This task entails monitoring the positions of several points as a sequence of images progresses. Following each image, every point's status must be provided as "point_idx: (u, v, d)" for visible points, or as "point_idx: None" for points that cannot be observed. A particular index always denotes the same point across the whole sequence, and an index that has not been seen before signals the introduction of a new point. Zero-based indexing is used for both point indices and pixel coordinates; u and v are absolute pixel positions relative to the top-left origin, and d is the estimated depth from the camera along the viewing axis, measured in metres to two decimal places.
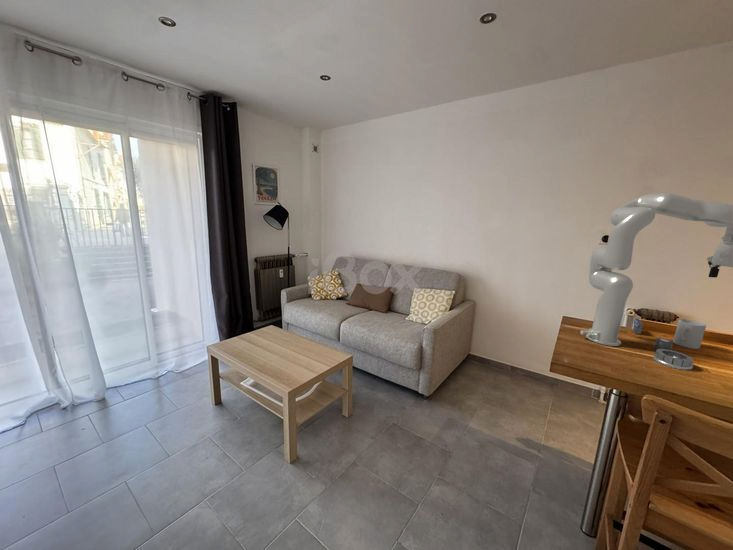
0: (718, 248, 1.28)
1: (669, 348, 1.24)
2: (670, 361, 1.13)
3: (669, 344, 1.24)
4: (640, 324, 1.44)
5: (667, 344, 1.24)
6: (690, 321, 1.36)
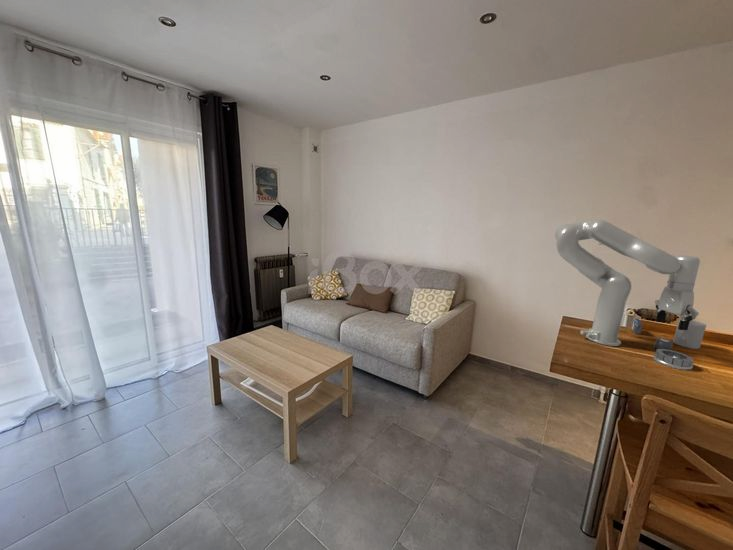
0: (663, 293, 1.25)
1: (669, 348, 1.24)
2: (670, 361, 1.13)
3: (669, 344, 1.24)
4: (640, 324, 1.44)
5: (667, 344, 1.24)
6: (690, 321, 1.36)
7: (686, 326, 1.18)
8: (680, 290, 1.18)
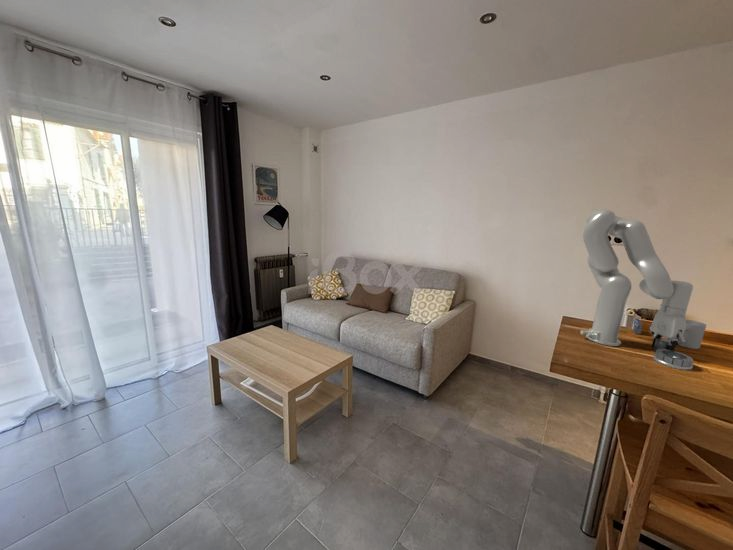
0: (656, 316, 1.27)
1: None
2: (670, 361, 1.13)
3: None
4: (640, 324, 1.44)
5: (667, 344, 1.24)
6: (690, 321, 1.36)
7: (672, 350, 1.23)
8: (672, 315, 1.21)
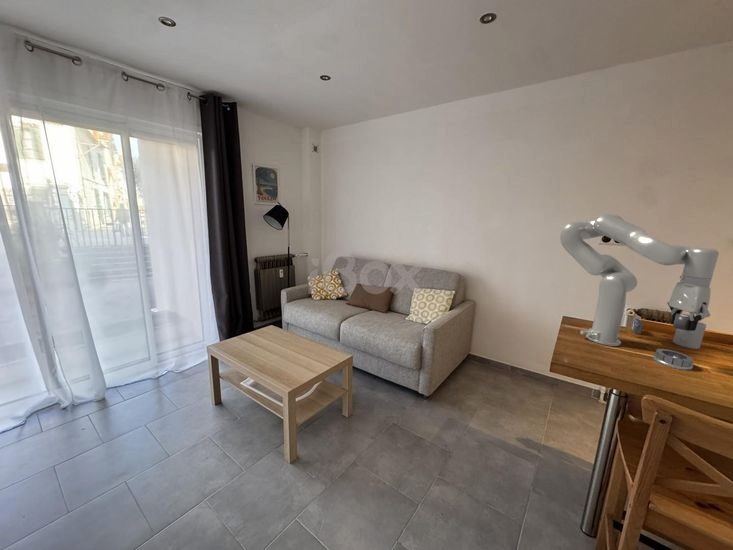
0: (676, 289, 1.14)
1: None
2: (670, 361, 1.13)
3: None
4: (640, 324, 1.44)
5: (689, 319, 1.10)
6: None
7: (694, 326, 1.09)
8: (695, 286, 1.07)
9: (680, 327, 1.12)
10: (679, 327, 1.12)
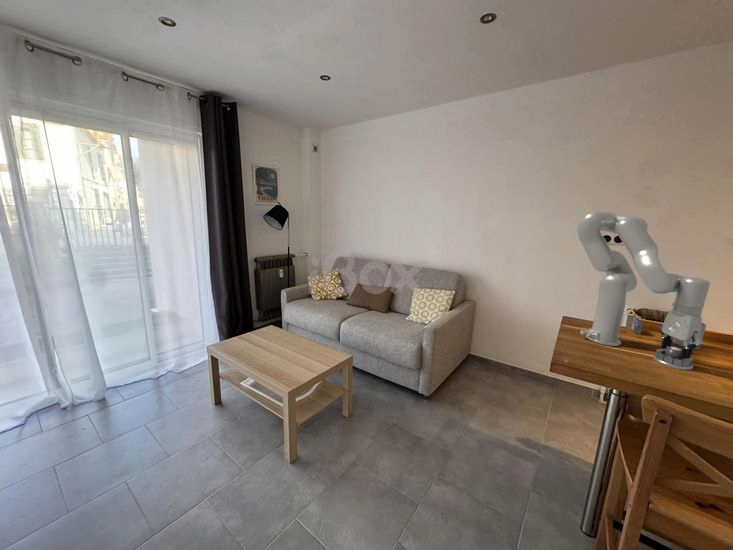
0: (668, 316, 1.16)
1: None
2: (670, 361, 1.13)
3: None
4: (640, 324, 1.44)
5: (679, 353, 1.13)
6: None
7: (689, 354, 1.10)
8: (687, 315, 1.09)
9: None
10: None
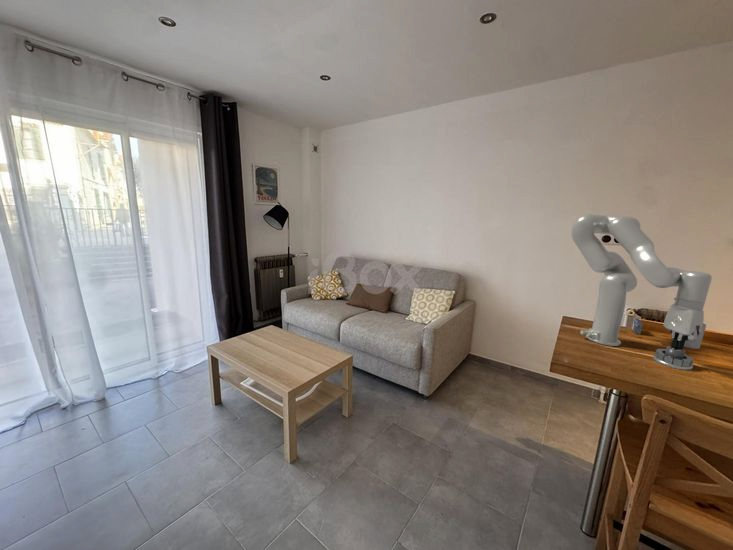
0: (670, 311, 1.16)
1: (681, 357, 1.13)
2: (670, 361, 1.13)
3: (681, 353, 1.13)
4: (640, 324, 1.44)
5: (679, 353, 1.13)
6: None
7: (681, 346, 1.13)
8: (689, 309, 1.09)
9: None
10: None
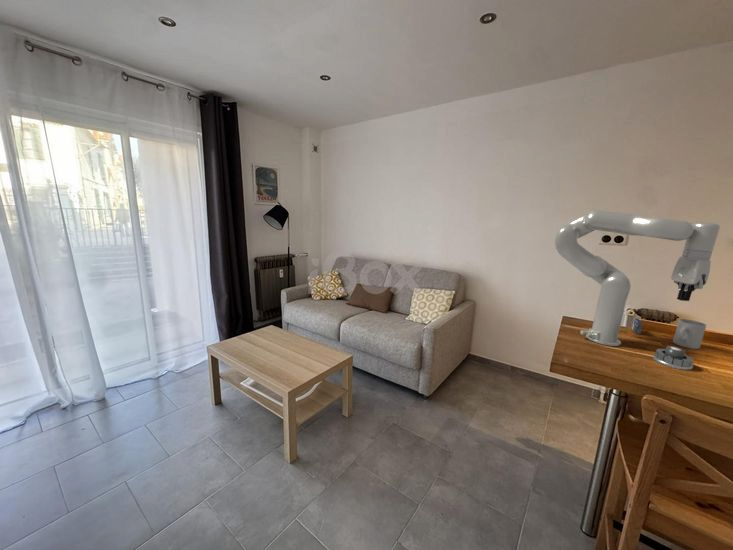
0: (678, 263, 1.19)
1: (681, 357, 1.13)
2: (670, 361, 1.13)
3: (681, 353, 1.13)
4: (640, 324, 1.44)
5: (679, 353, 1.13)
6: (690, 321, 1.36)
7: (688, 297, 1.17)
8: (695, 258, 1.12)
9: None
10: None
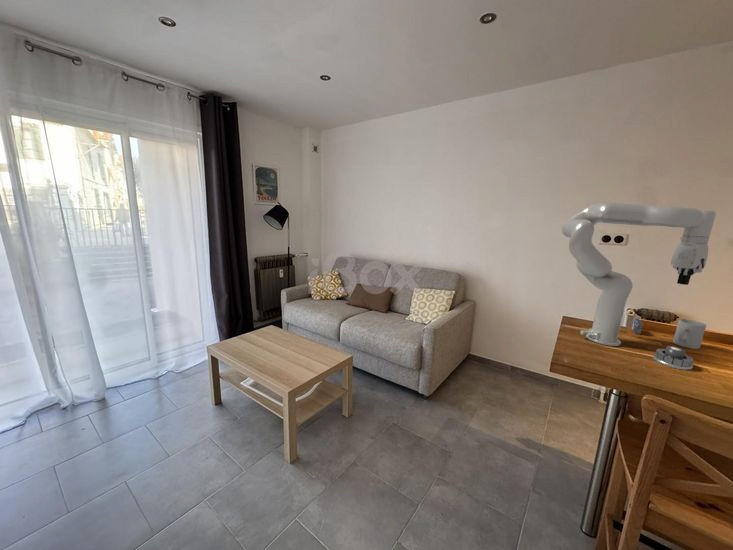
0: (677, 249, 1.25)
1: (681, 357, 1.13)
2: (670, 361, 1.13)
3: (681, 353, 1.13)
4: (640, 324, 1.44)
5: (679, 353, 1.13)
6: (690, 321, 1.36)
7: (687, 280, 1.23)
8: (694, 244, 1.18)
9: None
10: None
